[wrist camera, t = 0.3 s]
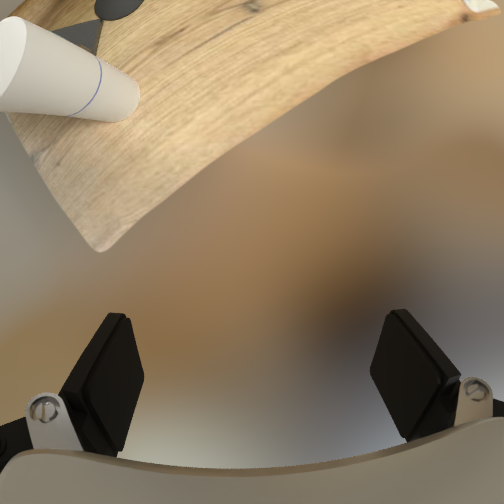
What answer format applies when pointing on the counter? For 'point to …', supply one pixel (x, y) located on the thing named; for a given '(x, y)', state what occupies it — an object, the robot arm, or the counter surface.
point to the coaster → (116, 8)
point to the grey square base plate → (83, 34)
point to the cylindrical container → (59, 77)
